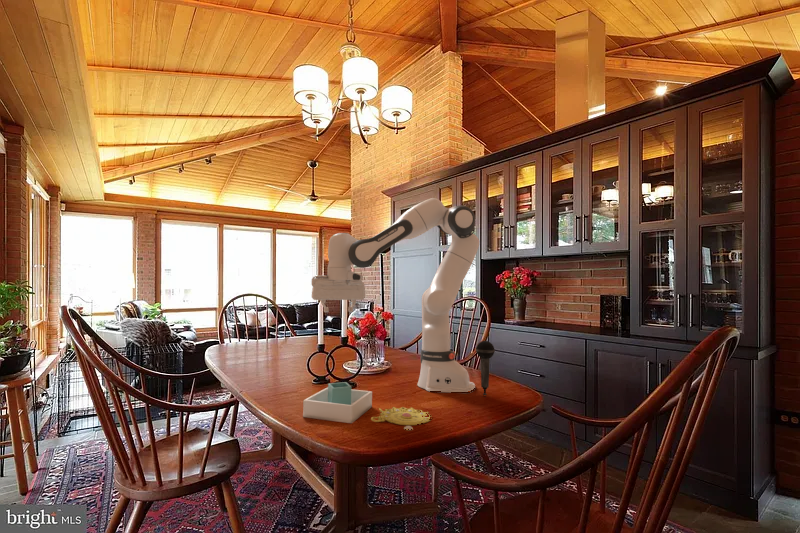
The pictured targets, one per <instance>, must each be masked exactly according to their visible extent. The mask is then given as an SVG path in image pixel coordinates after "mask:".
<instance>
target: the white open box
mask: <svg viewBox="0 0 800 533" xmlns="http://www.w3.org/2000/svg"><path fill="white" fill-rule="evenodd" d="M302 404H303V405H302V407H303V409H302V410H303V412H302V418H308V419H315V420H316V419H317V420H322V421H331V422H337V423H347V424H353V423H354V422H355V421H356V420H358V419H359V418H360V417H361V416H362V415H364V414H365V413H367V412H368V410H370V409H371V408H373V391H370V390H364V389H363V390H362V389H361V390H359V389H352V388H351V405H347V404H339V403H330V402H328V386H327V387H326V388H323V389H322V390H320V391H317V392H315V393H314V394H312V395H311V396H309V397H307V398H305V399H303V403H302Z"/></svg>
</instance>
